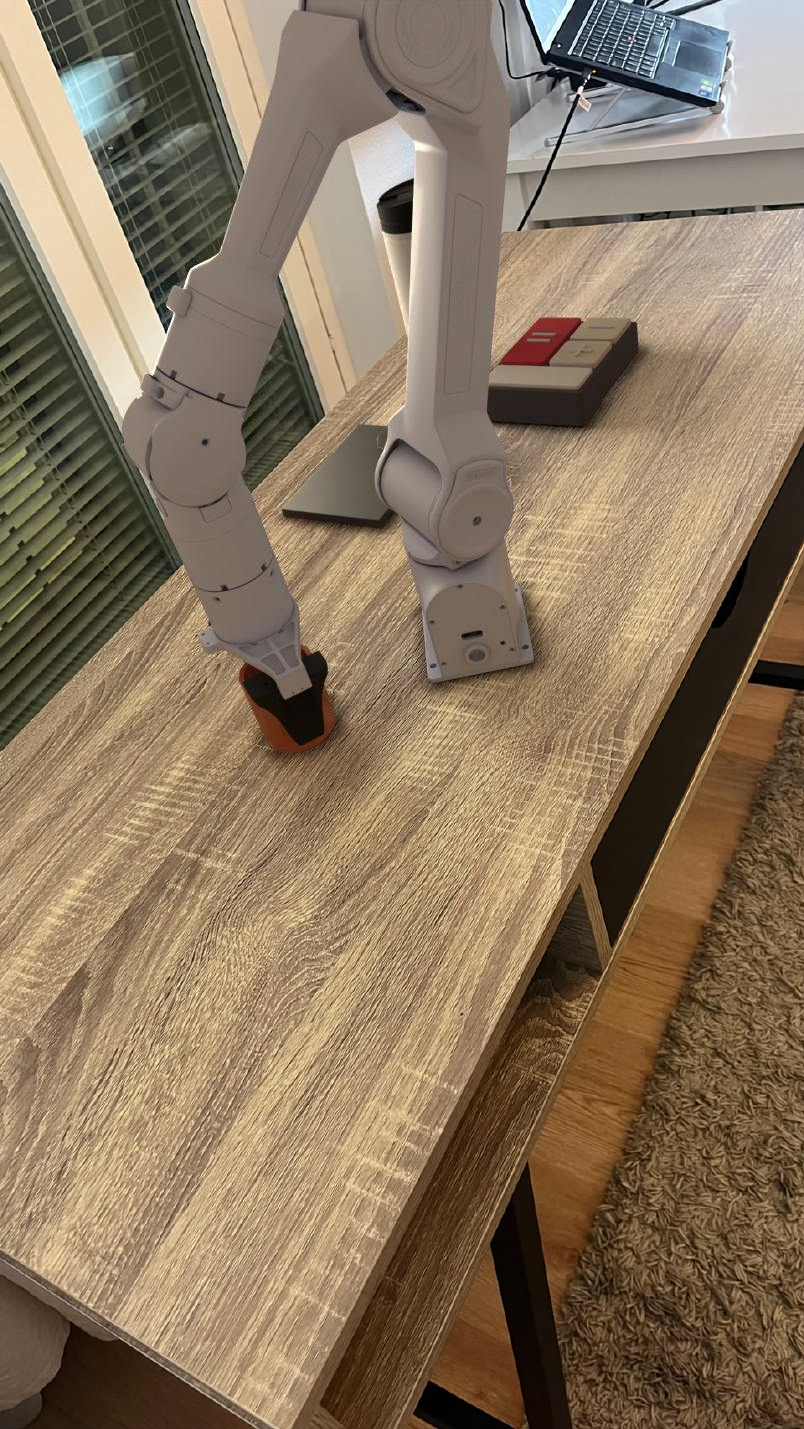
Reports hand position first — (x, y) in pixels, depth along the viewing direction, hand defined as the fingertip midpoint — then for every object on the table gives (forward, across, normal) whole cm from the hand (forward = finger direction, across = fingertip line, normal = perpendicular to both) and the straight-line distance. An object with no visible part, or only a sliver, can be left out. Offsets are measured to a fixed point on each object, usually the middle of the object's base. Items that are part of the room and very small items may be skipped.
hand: (294, 710), depth 79 cm
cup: (+2, 0, 0) cm, 2 cm away
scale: (+2, -28, +18) cm, 34 cm away
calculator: (+2, -28, +40) cm, 49 cm away
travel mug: (+2, -39, +33) cm, 51 cm away
